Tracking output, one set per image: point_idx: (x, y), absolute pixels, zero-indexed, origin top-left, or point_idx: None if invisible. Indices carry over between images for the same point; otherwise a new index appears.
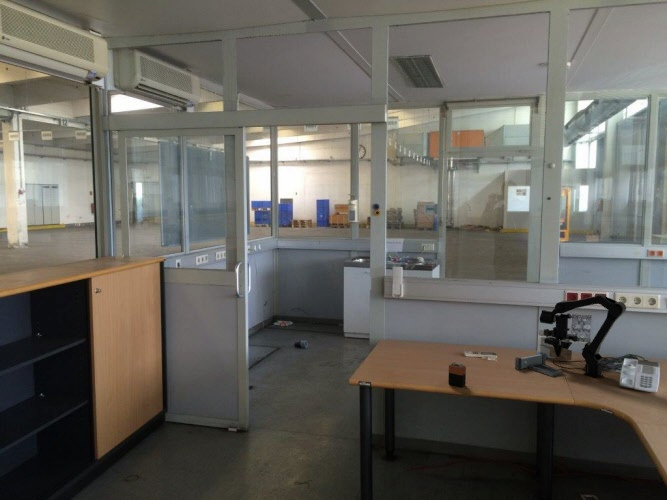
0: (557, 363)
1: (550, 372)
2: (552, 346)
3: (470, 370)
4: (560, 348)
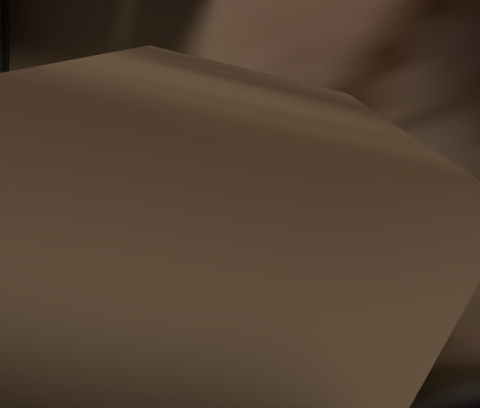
0: (462, 57)
1: None
2: (163, 199)
3: None
4: None
